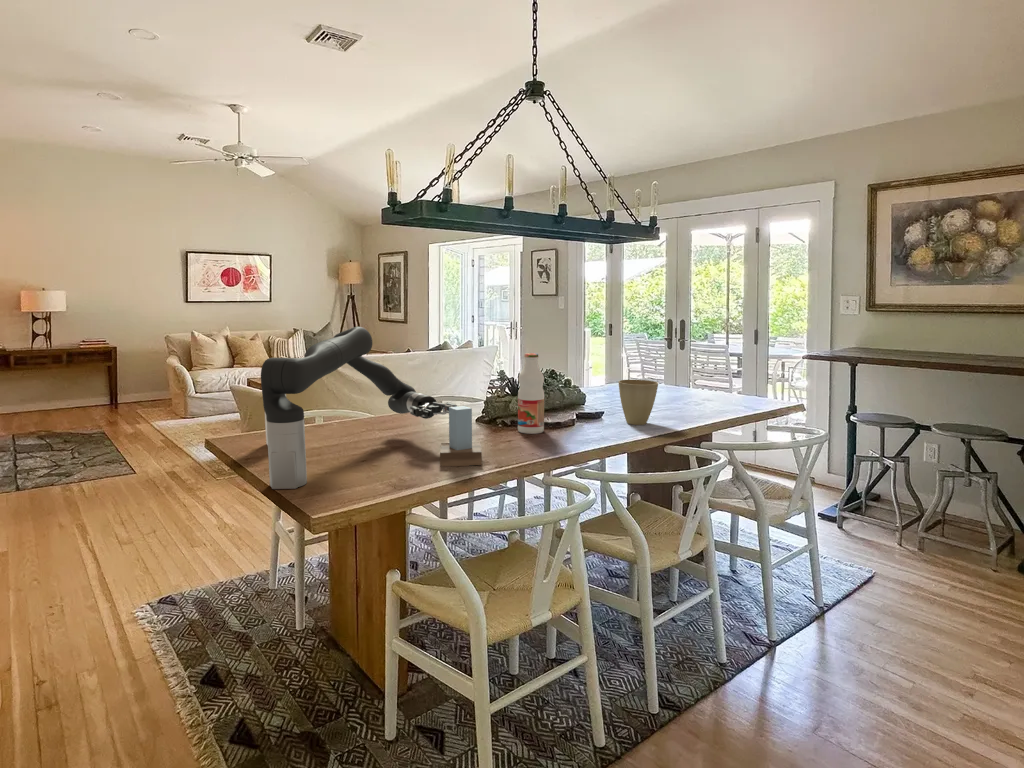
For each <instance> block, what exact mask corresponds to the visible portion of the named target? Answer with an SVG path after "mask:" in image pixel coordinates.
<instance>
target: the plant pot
mask: <svg viewBox="0 0 1024 768" xmlns="http://www.w3.org/2000/svg"><path fill="white" fill-rule="evenodd" d="M658 387H659V382H658V381H654V380H650V379H649V380H647V379H620V380H618V391H619V398H620V404H621V407H622V412H623V414H624V415H623V416H624V418H625V421H626V424H629V425H634V426H643V425H644V426H645V425H647V423H648V420H649V418H650V416H651V413H652V411H653V407H654V405H655V401H656V397H657V391H658Z"/></svg>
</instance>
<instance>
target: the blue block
mask: <svg viewBox="0 0 1024 768" xmlns="http://www.w3.org/2000/svg"><path fill="white" fill-rule="evenodd" d="M448 429H449V430H448V431H449V432H448V433H449V434H448V436H449V437H448V440H449V442H448V443H449V447H451V448H453V449H455V450H463V449H470V448H472V443H473V408H472V407H468V406H466V405H460V406H458V405H457V407H449V413H448Z"/></svg>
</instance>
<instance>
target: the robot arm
mask: <svg viewBox="0 0 1024 768" xmlns="http://www.w3.org/2000/svg"><path fill="white" fill-rule="evenodd" d="M372 347H373V338H372V335H371V333H370V332H369V330H367V329H366V328H365V327H362V326H354V327H351V328H348V329H346V330H344V331H340V332H339V333H336V334H335V335H334V336H333V337H331V338H328V339H325V340H321V341H319V342H317V343H314V344H312V345H311V346H309V347H308V348H307V349H306V351H305V353H304V356H303V357H269V358H266V359H265V360H264V362H263V363H262V365H261V369H260V385H261V393H262V394H261V395H262V402H263V403H262V407H263V410H264V414H265V413H266V419H267V438H268V445H267V452H268V453H267V454H268V474H269V475H268V476H269V486H270V487H271V490H283V489H284V490H287V489H289V490H290V489H291V490H292V489H293V490H294V489H297V488H298V487H299V488H300V487H303V486H305V485H306V484H307V483H308V477H307V472H308V471H307V456H306V455H307V454H306V453H307V452H306V430H305V411H304V409H303V407H302V406H300V405H297V404H295V403H293V402H292V401H290V400H289V399H288V398H287V395H298V394H300V393H301V394H302V393H303V392H304V391H306V390H307V389H308V388H310V387H311V386H312V385H313V384H314V383H316V382H317V381H318V380H319V379H322V378H323V377H325V376H327V375H330V374H331V373H333V372H335V371H336V370H338V369H339V368H341V367H343V366H344V365H346V364H347V365H348V366H350V367H351V368H353V369H354V370H355V371H357V372H358V373H360V374H361V375H363V376H364V377H366V378H367V379H368V380H369V381H371V382H372V383H373V384H374V386H376V388H377V389H378V390H380V392H381V393H383V395H384V396H390V397H388V401H387V404H388V405H387V406H388V407H389V409H390V411H392V412H393V413H396V414H399V415H400V414H409V413H410V415H412V416H413V417H416V418H419V417H420V418H422V419H425V420H427V419H428V420H429V419H431V418H433V417H434V416H437V415H442V416H443V415H447V414H449V407H457V406H458V405H457V404H455V403H451V402H445V403H443V402H441V403H440V402H438V401H437V400H436V399H435V398H434V396H431V395H428V394H424V393H419V392H417V391H416V390H415V388H414V387H413V386H411V385H409V384H407V383H405V382H403V381H402V380H401V379H399V378H398V377H397V376H396V375H395V374H394V373H393V372H392V371H391V370H390V369H389V368H388V367H386V366H385V365H384V364H381V363H378V362H375V361H373V360H371V359H368V358H366V357H364V356H365V355H367V354H368V353H369V352H370V351H371V350H372ZM285 394H286V396H285Z"/></svg>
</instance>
